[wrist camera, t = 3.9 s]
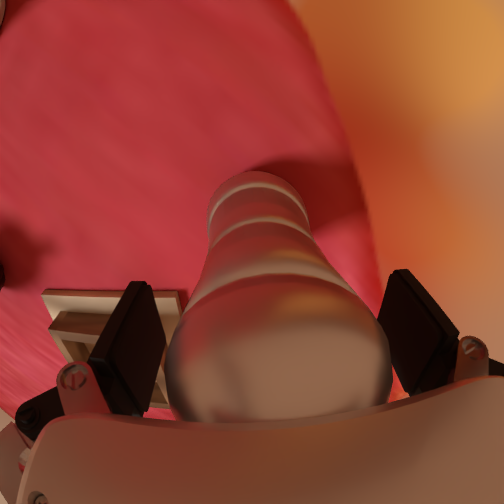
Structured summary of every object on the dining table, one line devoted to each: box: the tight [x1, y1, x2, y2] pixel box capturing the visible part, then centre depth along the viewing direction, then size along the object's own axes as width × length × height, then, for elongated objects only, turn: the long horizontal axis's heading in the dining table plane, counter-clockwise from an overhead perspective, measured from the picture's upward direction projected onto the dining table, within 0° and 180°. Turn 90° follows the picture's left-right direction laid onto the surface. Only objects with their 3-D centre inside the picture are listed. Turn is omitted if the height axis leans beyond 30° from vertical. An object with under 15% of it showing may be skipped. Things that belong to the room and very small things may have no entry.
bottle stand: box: [41, 289, 183, 409], centre depth 25 cm, size 16×16×4 cm
